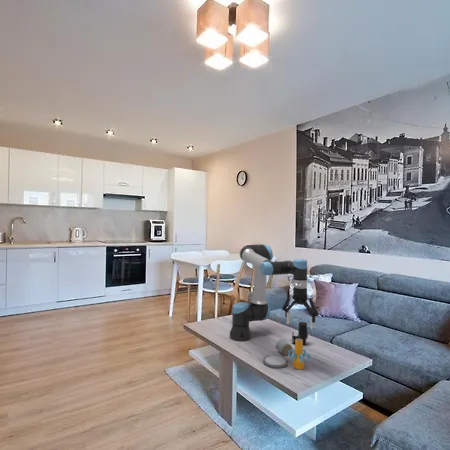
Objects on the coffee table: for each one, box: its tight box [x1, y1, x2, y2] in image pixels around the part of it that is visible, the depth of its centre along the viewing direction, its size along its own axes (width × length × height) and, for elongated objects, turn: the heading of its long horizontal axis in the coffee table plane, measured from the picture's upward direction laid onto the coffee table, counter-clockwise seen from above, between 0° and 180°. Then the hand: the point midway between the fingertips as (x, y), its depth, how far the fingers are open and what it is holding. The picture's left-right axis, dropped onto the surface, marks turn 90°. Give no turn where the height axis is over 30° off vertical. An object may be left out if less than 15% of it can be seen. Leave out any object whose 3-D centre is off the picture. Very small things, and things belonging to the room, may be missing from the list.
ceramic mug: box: [275, 338, 295, 356], centre depth 187 cm, size 11×8×8 cm
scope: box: [290, 321, 309, 347], centre depth 201 cm, size 8×14×10 cm
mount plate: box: [262, 354, 289, 369], centre depth 173 cm, size 14×14×1 cm
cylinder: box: [287, 339, 311, 370], centre depth 168 cm, size 12×10×15 cm
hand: (299, 325), depth 168 cm, fingers open, 13 cm apart
